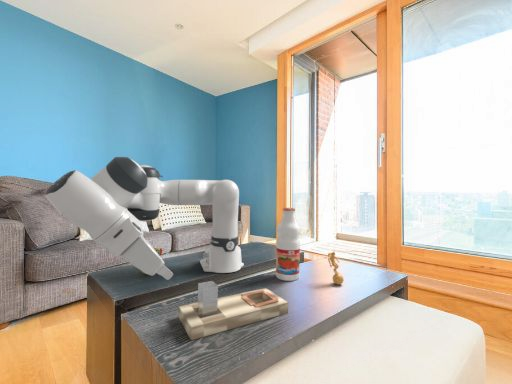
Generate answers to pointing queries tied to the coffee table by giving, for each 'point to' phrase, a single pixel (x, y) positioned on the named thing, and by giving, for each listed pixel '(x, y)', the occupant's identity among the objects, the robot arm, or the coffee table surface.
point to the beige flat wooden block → (232, 312)
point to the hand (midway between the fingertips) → (166, 270)
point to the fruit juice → (288, 247)
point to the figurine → (336, 277)
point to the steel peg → (207, 299)
